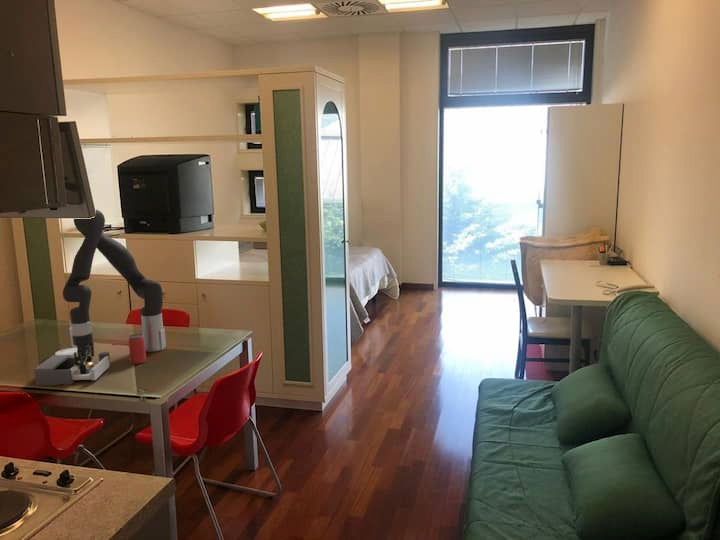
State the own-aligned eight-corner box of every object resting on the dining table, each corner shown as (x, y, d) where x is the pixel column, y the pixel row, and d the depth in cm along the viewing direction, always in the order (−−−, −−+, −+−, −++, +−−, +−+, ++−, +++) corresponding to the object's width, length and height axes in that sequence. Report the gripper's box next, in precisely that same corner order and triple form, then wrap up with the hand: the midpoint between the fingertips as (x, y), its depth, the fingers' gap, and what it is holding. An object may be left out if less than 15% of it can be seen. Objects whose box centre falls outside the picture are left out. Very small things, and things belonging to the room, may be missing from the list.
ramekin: (64, 358, 270) (62, 347, 269) (88, 358, 269) (87, 347, 268) (51, 367, 259) (49, 355, 258) (76, 367, 258) (74, 355, 257)
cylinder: (112, 362, 263) (110, 351, 262) (108, 365, 259) (107, 355, 258) (102, 362, 263) (100, 352, 262) (98, 366, 258) (96, 355, 257)
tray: (109, 366, 254) (108, 356, 253) (95, 380, 239) (93, 369, 238) (76, 367, 254) (75, 357, 253) (59, 381, 239) (58, 370, 238)
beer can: (131, 365, 259) (128, 339, 256) (129, 360, 264) (127, 335, 262) (147, 362, 262) (144, 336, 259) (145, 358, 267) (142, 332, 265)
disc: (96, 364, 249) (95, 360, 249) (90, 370, 243) (89, 365, 243) (81, 365, 249) (81, 360, 248) (75, 370, 243) (74, 365, 243)
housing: (88, 369, 255) (86, 354, 253) (71, 384, 239) (69, 367, 238) (55, 370, 254) (53, 355, 253) (36, 385, 238) (34, 369, 237)
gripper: (83, 337, 236) (88, 377, 239) (98, 326, 250) (102, 364, 254) (64, 338, 236) (69, 377, 239) (80, 327, 250) (84, 365, 253)
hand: (86, 370), depth 246 cm, fingers closed on disc, 5 cm apart
